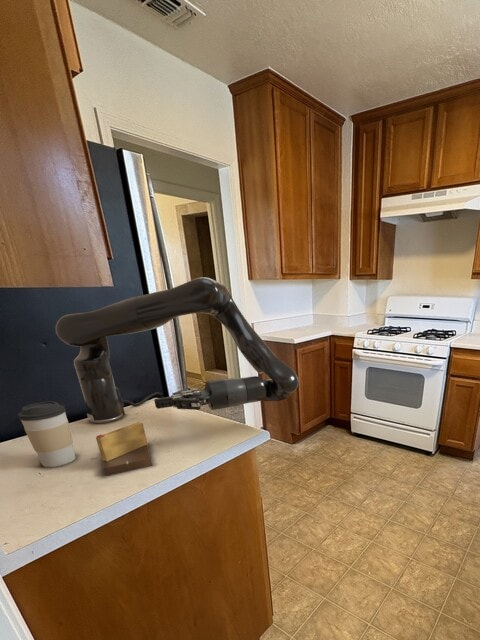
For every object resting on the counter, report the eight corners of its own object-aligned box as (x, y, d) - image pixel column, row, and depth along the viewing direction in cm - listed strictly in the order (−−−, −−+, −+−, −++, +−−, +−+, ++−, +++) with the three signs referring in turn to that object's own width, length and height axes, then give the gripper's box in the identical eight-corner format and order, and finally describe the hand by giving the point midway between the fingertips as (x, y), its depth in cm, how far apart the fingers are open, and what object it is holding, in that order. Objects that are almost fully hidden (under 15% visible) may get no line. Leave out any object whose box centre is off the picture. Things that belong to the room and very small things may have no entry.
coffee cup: (44, 456, 91) (23, 401, 85) (84, 450, 94) (67, 396, 88) (31, 472, 83) (8, 412, 78) (75, 465, 86) (56, 407, 81)
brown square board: (93, 454, 92) (91, 447, 91) (157, 442, 99) (155, 435, 98) (91, 480, 79) (89, 471, 79) (164, 463, 86) (162, 455, 86)
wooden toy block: (143, 443, 93) (138, 421, 91) (147, 444, 92) (142, 422, 90) (102, 460, 84) (95, 436, 82) (106, 461, 83) (99, 437, 81)
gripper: (218, 374, 97) (149, 382, 89) (231, 385, 86) (155, 395, 78) (221, 400, 100) (155, 410, 92) (235, 413, 89) (161, 427, 81)
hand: (155, 403), depth 85 cm, fingers closed
